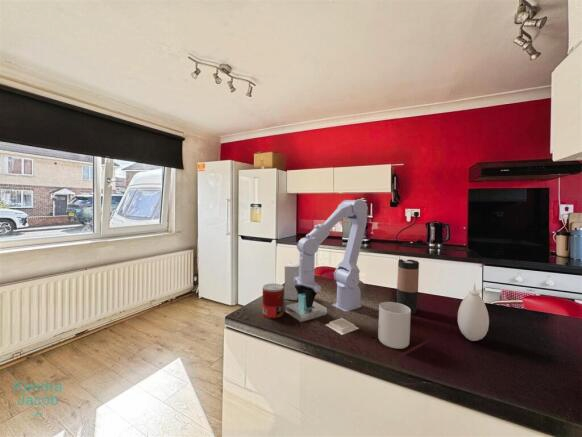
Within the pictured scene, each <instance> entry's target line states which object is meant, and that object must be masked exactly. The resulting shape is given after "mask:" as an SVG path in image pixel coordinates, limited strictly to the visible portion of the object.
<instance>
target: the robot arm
mask: <svg viewBox="0 0 582 437" xmlns="http://www.w3.org/2000/svg"><path fill="white" fill-rule="evenodd" d="M368 209H369V208H368V206H367V204H366V202H365V201H364V200H362V199H344V200H343V201H341V203H339V204H338V205H337V208H336V209H335V210H334V212H332V214H330V216H329V217H327V219H326V220H325V222H323V223H319V224H316V225H314V226H313V229H312V230H311V231H310V232H308V233H307V234H306V235H305V237H302V238H300V240H298V243H297V244H296V248H297V250H298V252H299V257H298V258H299V261H298V262H299V277H298V276H297V277H294V282H297V285H295V288H296V290H297V292H298V296H299V294H302V293H305V296H306V306H307V308H310V307H312V305H313V301H314V302H315V298H316V296H317V294H318V293H320V292H321V291H322V286H321V285H319V284H318V283H317V282H316V281H315V265H316V264H315V263H316V261H315V259H316V258H315V257H316V254H315V253H317V252H318V250H319V246H320V245H321V244H322V243H323V241H325V239H327V238H328V237H329V236H330V230H332V229H333V228H334V227H335V226H336V225H337V224H338V223H339V222H340V221H342V220H343V218H347V219H348V220H349V221H350V223H351V228H350V232H349V234H348V240H347V244H346V247H345V252H344V255H343V259H342V261H340V262H339V263H338V264H337V268H336V269H335V271H334V272H333V279H334V280H335V281H336V302H335V303H332V306H333V307H336V308H337V309H339V310H342V311H343V312H349V311H352V310H355V309H359V308H362V306H363V305H361V296H362V295H361V289H360V288H361V287H360V286H359V283H360V271H361V270H360V269H359V267H358V265H357V263H358V259H359V256H360V252H361V251H360V250H361V248H362V243H363V238H364V234H365V231H366V226H367V214H368Z"/></svg>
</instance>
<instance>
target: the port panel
mask: <svg viewBox="0 0 582 437" xmlns="http://www.w3.org/2000/svg"><path fill="white" fill-rule="evenodd" d="M327 310H328V308H327V307H326V306H324V305H322V304H320V303H318V302H316V301H315V300H314V301H313V305H312V307H311V309H308V310H303V309H301V308H300V307H298V302H294V303H291V304H286V305H285V312H286V313H287V314H288V315H290V316H291V317H293V318H294V319H296V320H297V321H299V322H300V323H302V322H305V321H309V320H312V319H316V318H319V317H322V316H325V315H326V316H327V312H328V311H327Z"/></svg>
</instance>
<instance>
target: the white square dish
mask: <svg viewBox="0 0 582 437" xmlns="http://www.w3.org/2000/svg"><path fill="white" fill-rule="evenodd" d="M324 325H325V326H326V327H328V328H330V329H331V330H333V331H334V332H336V333H338V334H339V335H341V336H342V335H345V334H348V333H350V332H353V331H356V330H358V329H360V328H359V327H357V326H356V325H355V324H354V323H352V322H350V321H349V320H347V319H344V318H343V317H340V318H337V319H334V320H331V321H329V323H326V324H324Z"/></svg>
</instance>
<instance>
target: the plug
mask: <svg viewBox="0 0 582 437" xmlns="http://www.w3.org/2000/svg"><path fill="white" fill-rule="evenodd" d="M297 301H298V302H297V303H298V307H300V308H301V309H303V310H308V309H311V307H310V308H307V306H306V296H305V293H302V294H299V297H298V299H297Z"/></svg>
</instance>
